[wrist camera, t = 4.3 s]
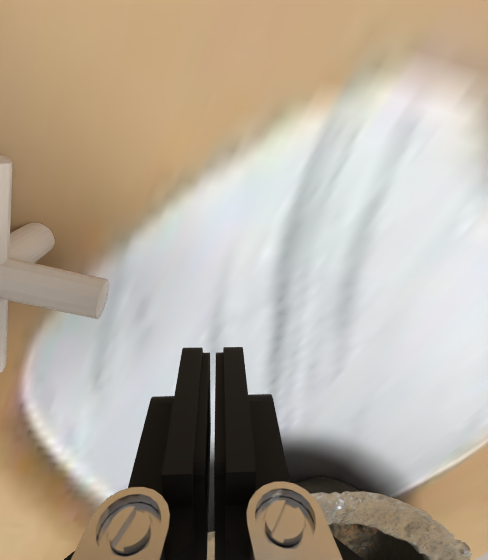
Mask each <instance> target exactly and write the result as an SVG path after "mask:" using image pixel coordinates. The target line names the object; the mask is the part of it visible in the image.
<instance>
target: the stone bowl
mask: <svg viewBox="0 0 488 560" xmlns="http://www.w3.org/2000/svg"><path fill="white" fill-rule="evenodd" d="M293 484H296V485H298V486H300V487H302V488H304V489H305V490H307V491H308V492H309V493H310V494H311V495H312V496H313V497H314V498H315V499H316V501H317V503H318V504H319V506H320V508H321V509H322V512H323V514H324V517H325V519H326V521H327V524H328V526H329V528H330V531H331V533H332V535H333V536H334V537H335V538H337V539H338V540H339V541H341V542H342V543H343V544H344V545H346V546H347V547H348V548H349V549H351V550H352V551H353V552H355V553H356V554H357V555H358V556H360V557H361V558H362V559H364V560H470V557H471V555H472V554H471V553H470V548H469V546H468V545H467V544H466V543H464V542H461V541H460V540H455V539H454V535H453V534H451V533H450V532H449V531H448V530H447V529H446V528H445V527H444V526H443V525H441V524H440V523H438V522H437V521H435V520H433V519H432V517H431V516H429V515H428V514H427V512H425V511H423V510H422V509H419V508H415V507H413V506H411V505H410V504H407V503H405V502H403V501H400V500H398V499H395V498H392V497H389V496H386V495H383V494H378V493H370V492H365V491H363V490H359V489H355V488H353V487H351V486H349V485H348V484H346V483H343V482H341V481H338V480H335V479H331V478H325V477H310V478H309V479H307V480H305V481H302V482H298V483H293ZM207 560H215V531H213V532H208V543H207Z"/></svg>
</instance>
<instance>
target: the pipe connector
mask: <svg viewBox="0 0 488 560" xmlns="http://www.w3.org/2000/svg"><path fill="white" fill-rule="evenodd" d="M11 192H12V160H10V159H9V158H7V157H4V156H1V155H0V372H2V371H3V370H4V368H5V365H6V348H7V317H8V300H9V301H13V302H18V303H23V304H28V305H33V306H38V307H43V308H47V309H52V310H57V311H62V312H67V313H72V314H76V315H81V316H86V317H91V318H96V319H98V318H99V317H100V315H101V313H102V311H103V309H104V306H105V303H106V299H107V295H108V289H109V282H108V280H107V279H102V278H98V277H93V276H89V275H85V274H80V273H76V272H71V271H67V270H62V269H58V268H54V267H49V266H45V265H40V264H36V263H35V262H36V261H38V260H39V259H40V258H41V257H43V256H44V255H45V254H47V253H48V252H49V251H50V250H52V248H53V247H54V243H55V239H54V236H53V233H52V232H51V230H50V229H49V228H48V227H46V226H44V225H43V224H40V223H35V222H34V223H29V224H26V225H24V226H22V227H21V228H19V229H17V230H15V231H13V232H11V233H10V223H11Z"/></svg>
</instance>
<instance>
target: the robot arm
mask: <svg viewBox="0 0 488 560" xmlns="http://www.w3.org/2000/svg"><path fill="white" fill-rule="evenodd" d="M210 436H211V417H210V353H203V349H202V348H183V349H182V355H181V361H180V367H179V373H178V378H177V384H176V390H175V396H165V397H152V398H151V401H150V404H149V408H148V412H147V416H146V420H145V424H144V428H143V432H142V435H141V439H140V443H139V447H138V451H137V455H136V459H135V463H134V467H133V471H132V475H131V478H130V482H129V486H128V489H125V490H121V491H119V492H117V493H115V494H114V495H112V496H110V497H109V498H107V499H106V500H105V501H104V502H103V503H102V504H101V505H100V506H99V507H98V508H97V510H96V511H95V513H94V514H93V516H92V518H91V519H90V521H89V523H88V525H87V527H86V529H85V532H84V534H83V536H82V538H81V540H80V542H79V544H78V546H77V548H76V550H75V551H74V552H73V553H71V554H70V555H69V556H68V557H67V558H65V559H64V560H207V543H208V508H209V472H210ZM214 519H215V560H364V559H362V558H361V557H360V556H358V555H357V554H356V553H355V552H353V551H352V550H351V549H349V548H348V547H347V546H346V545H344V544H343V543H342V542H341V541H339V540H338V539H337V538H335V537H334V536H333V535H332V533H331V531H330V528H329V526H328V524H327V521H326V519H325V517H324V514H323V512H322V509H321V508H320V506H319V504H318V503H317V501H316V499H315V498H314V497H313V496H312V495H311V494H310V493H309V492H308V491H307V490H305V489H304V488H302V487H300V486H298V485H296V484H293V483H290V481H289V476H288V471H287V466H286V461H285V456H284V451H283V446H282V441H281V436H280V431H279V427H278V422H277V417H276V412H275V407H274V402H273V398H272V395H271V394H262V395H248V391H247V382H246V373H245V364H244V354H243V347H224V350H223V353H216V388H215V460H214Z"/></svg>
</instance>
